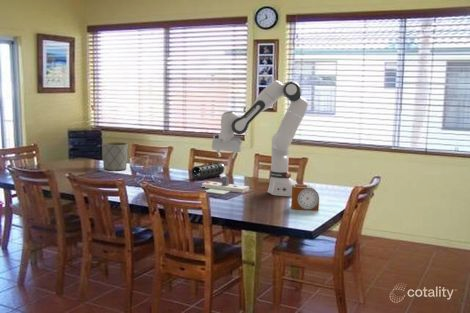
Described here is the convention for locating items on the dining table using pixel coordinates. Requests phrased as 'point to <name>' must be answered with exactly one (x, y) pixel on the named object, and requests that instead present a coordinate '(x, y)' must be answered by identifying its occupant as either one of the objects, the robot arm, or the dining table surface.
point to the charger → (225, 181)
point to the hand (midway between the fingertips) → (226, 157)
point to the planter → (115, 155)
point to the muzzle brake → (207, 170)
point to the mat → (217, 191)
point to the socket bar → (225, 187)
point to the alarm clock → (304, 197)
